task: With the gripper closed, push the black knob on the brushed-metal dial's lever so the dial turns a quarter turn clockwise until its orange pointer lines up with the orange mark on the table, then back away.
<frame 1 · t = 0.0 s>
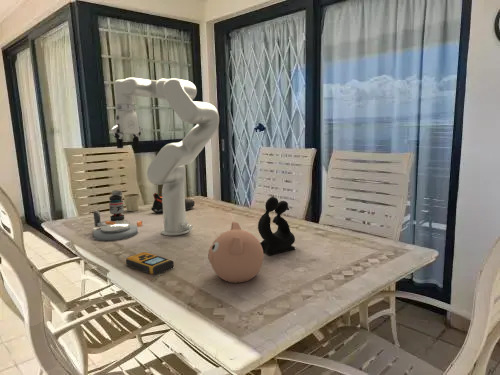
hand: (128, 147, 165), 37 cm above the table, tool pointing down, fingers open, 9 cm apart
figurine: (277, 250, 134), on the table
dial: (109, 220, 159), point 6 cm above the table, hinge at 0.0°
electronic device: (149, 268, 121), on the table
toy: (236, 276, 112), on the table
flower pot: (132, 210, 205), on the table
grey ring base: (116, 234, 159), on the table
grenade: (118, 220, 183), on the table
athletic shoe: (174, 211, 202), on the table
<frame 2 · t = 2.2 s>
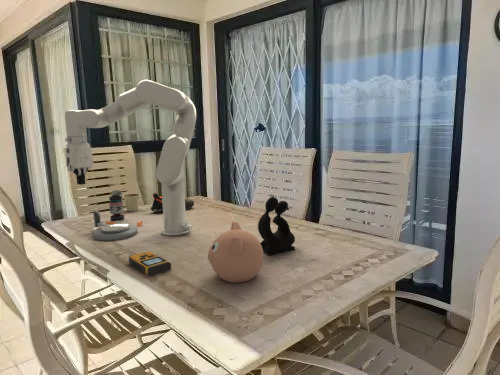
hand: (81, 184, 155), 22 cm above the table, tool pointing down, fingers closed
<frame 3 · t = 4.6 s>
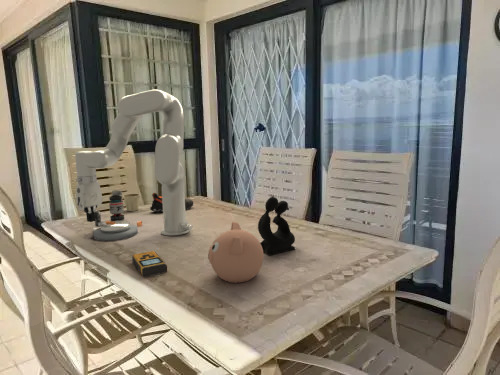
hand: (91, 221, 160), 6 cm above the table, tool pointing down, fingers closed
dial: (110, 220, 159), point 6 cm above the table, hinge at -1.4°, touching gripper
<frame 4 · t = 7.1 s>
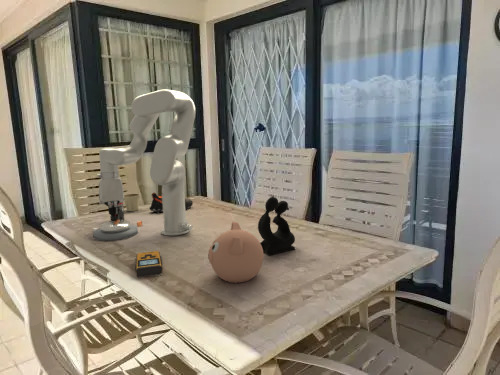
hand: (112, 215, 168), 6 cm above the table, tool pointing down, fingers closed
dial: (116, 219, 161), point 6 cm above the table, hinge at -56.6°, touching gripper
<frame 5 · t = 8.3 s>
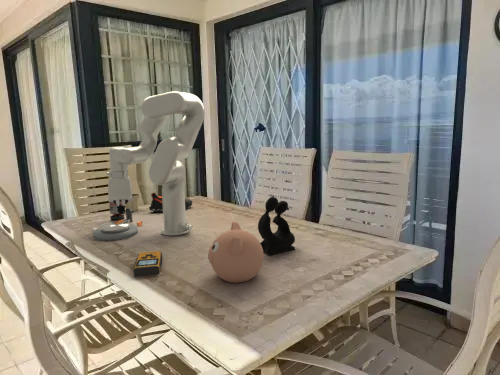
hand: (121, 213, 169), 6 cm above the table, tool pointing down, fingers closed
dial: (119, 219, 161), point 6 cm above the table, hinge at -76.7°, touching gripper
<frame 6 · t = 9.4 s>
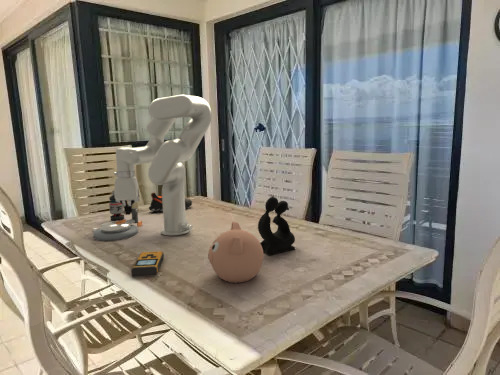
hand: (128, 214, 169), 6 cm above the table, tool pointing down, fingers closed
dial: (120, 219, 161), point 6 cm above the table, hinge at -93.4°, touching gripper
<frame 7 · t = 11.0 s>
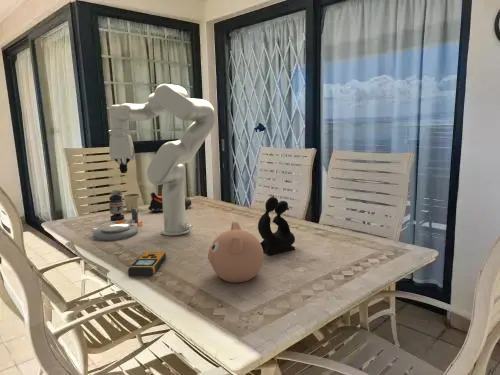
hand: (123, 172, 169), 25 cm above the table, tool pointing down, fingers closed
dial: (120, 219, 161), point 6 cm above the table, hinge at -93.5°
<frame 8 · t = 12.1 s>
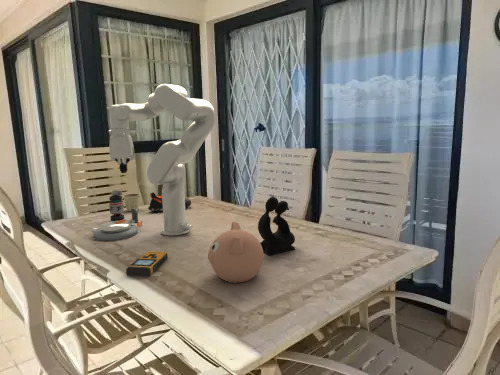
hand: (123, 172, 169), 25 cm above the table, tool pointing down, fingers closed
at the end: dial at -94° (first picture: +0°) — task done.
